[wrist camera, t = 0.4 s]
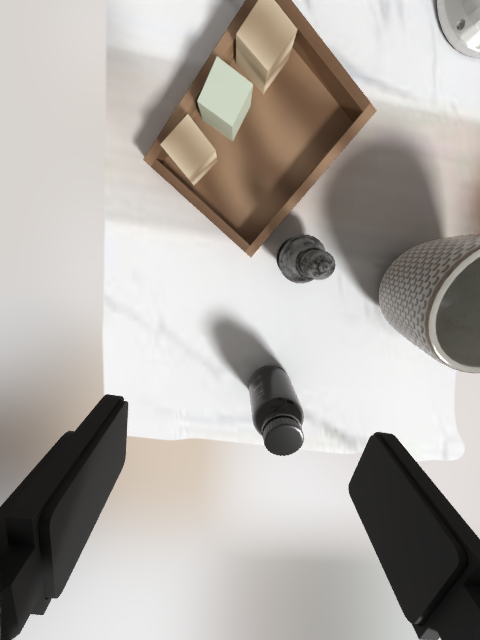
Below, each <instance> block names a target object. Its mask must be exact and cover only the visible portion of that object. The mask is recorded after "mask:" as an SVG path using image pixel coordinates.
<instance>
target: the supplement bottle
mask: <svg viewBox="0 0 480 640" xmlns="http://www.w3.org/2000/svg"><path fill="white" fill-rule="evenodd" d="M249 393H250V401H251V410H252V418H253V424H254V427H255V428H256V430H257V431H258V433H259V434H261V435H262V436H263V439H264V445H265V446H266V448H267V449H268V451H270V452H271V453H273V454H276V455H280V456H281V455H283V456H285V455H289V454H292V453H294V452H296V451H297V450H298V449H299V448H301V446H302V443H303V440H304V437H303V436H304V435H303V432H302V428H301V426H302V424H303V419H304V414H303V410H302V407H301V405H300V402H299V400H298V398H297V395H296V393H295V390H294V388H293V386H292V383H291V381H290V379H289V377H288V375H287V373H286V372H285V371H283V370H282V369H280V368H278V367H273V366H268V367H263V368H261V369H259V370H257V371H256V372H255V373H254V374H253V375H252V377H251V379H250V381H249Z"/></svg>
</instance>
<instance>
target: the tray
mask: <svg viewBox="0 0 480 640" xmlns="http://www.w3.org/2000/svg"><path fill="white" fill-rule="evenodd" d="M275 1H276V3H277V4H278V5H279V6H280V8H281V9H282V10H283V11H284V13H285V14H286V15H287V16H288V18H289V19H290V20H291V22H292V23H293V24H294V25H295V27H296V28H297V33H296V36H295V39H294V43H293V46H292V49H291V53H290V56H289V59H288V61H287V62H286V64H285V65H284V66H283V68H282V69H281V71H280V72H279V73H278V75H277V76H276V77H275V79H274V80H273V82H272V83H271V84H270V86H269V87H268V89H267V90H266V91H265V93H264V94H262V92H261V91H260V90H259V89H258V88H257V87H256V86H255V85H254V83H253V82H252V81H251V80H250V79H249V78H248V77H247V75H246V74H245V73H244V72H243V71H242V70H241V69H240V68H239V66H238V65H237V64H236V33H237V32H238V30H239V29H240V27H241V26H242V24H243V23H244V21H245V20H246V18H247V17H248V15H249V14H250V12H251V11H252V9H253V8H254V6H255V5H256V3H257V2H258V0H246V1H245V2H244V4H243V5H242V7H241V9H240V10H239V12H238V13H237V15H236V16H235V18H234V19H233V21H232V22H231V24H230V26H229V27H228V29H227V30H226V32H225V33H224V35H223V36H222V38H221V40H220V41H219V43H218V44H217V46H216V47H215V49H214V50H213V52H212V53H211V55H210V57H209V58H208V60H207V61H206V63H205V64H204V66H203V67H202V69H201V71H200V72H199V74H198V75H197V77H196V78H195V80H194V81H193V83H192V85H191V86H190V88H189V89H188V91H187V92H186V94H185V95H184V97H183V98H182V100H181V102H180V103H179V105H178V106H177V108H176V109H175V111H174V112H173V114H172V116H171V117H170V119H169V120H168V122H167V123H166V125H165V126H164V128H163V129H162V131H161V133H160V134H159V136H158V137H157V139H156V140H155V142H154V143H153V145H152V147H151V148H150V150H149V151H148V153H147V154H146V156H145V157H144V159H143V160H144V161H145V162H146V163H147V164H148V165H150V166H151V167H152V168H153V169H154V170H155V171H156V172H157V173H158V174H160V175H161V176H162V177H163V178H164V179H165V180H166V181H167V182H168V183H169V184H171V185H172V186H173V187H174V188H175V189H176V190H177V191H178V192H179V193H180V194H182V195H183V196H184V197H185V198H186V199H187V200H188V201H189V202H190V203H192V204H193V205H194V206H195V207H196V208H197V209H198V210H199V211H200V212H201V213H203V214H204V215H205V216H206V217H207V218H208V219H209V220H210V221H211V222H212V223H214V224H215V225H216V226H217V227H218V228H219V229H220V230H221V231H222V232H223V233H225V234H226V235H227V236H228V237H229V238H230V239H231V240H232V241H233V242H235V243H236V244H237V245H238V246H239V247H240V248H241V249H242V250H243V251H244V252H246V253H247V254H248V255H249V256H250V257H252V256H253V254H254V253H255V252H256V251H257V250H258V249H259V247H260V246H261V245H262V244H263V243H264V242H265V240H266V239H267V238H268V237H269V236H270V235H271V233H272V232H273V231H274V230H275V229H276V228H277V226H278V225H279V224H280V223H281V222H282V221H283V219H284V218H285V217H286V216H287V215H288V214H289V212H290V211H291V210H292V209H293V208H294V207H295V205H296V204H297V203H298V202H299V201H300V200H301V198H302V197H303V196H304V195H305V194H306V193H307V191H308V190H309V189H310V188H311V187H312V186H313V184H314V183H315V182H316V181H317V180H318V179H319V177H320V176H321V175H322V174H323V173H324V172H325V170H326V169H327V168H328V167H329V166H330V165H331V163H332V162H333V161H334V160H335V159H336V158H337V156H338V155H339V154H340V153H341V152H342V151H343V149H344V148H345V147H346V146H347V145H348V144H349V142H350V141H351V140H352V139H353V138H354V136H355V135H356V134H357V133H358V132H359V131H360V129H361V128H362V127H363V126H364V125H365V124H366V122H367V121H368V120H369V119H370V118H371V117H372V115H373V114H374V113H375V112H376V111H377V110H376V109H375V108H374V107H373V105H372V104H371V103H370V101H369V100H368V99H367V98H366V96H365V95H364V94H363V92H362V91H361V90H360V88H359V87H358V86H357V85H356V83H355V82H354V81H353V79H352V78H351V77H350V75H349V74H348V73H347V72H346V70H345V69H344V68H343V66H342V65H341V64H340V63H339V61H338V60H337V59H336V57H335V56H334V55H333V53H332V52H331V51H330V50H329V48H328V47H327V46H326V44H325V43H324V42H323V41H322V39H321V38H320V37H319V35H318V34H317V33H316V31H315V30H314V29H313V28H312V26H311V25H310V24H309V22H308V21H307V20H306V18H305V17H304V16H303V15H302V13H301V12H300V11H299V9H298V8H297V7H296V6H295V4H294V3H293V2H292V0H275ZM217 56H218V57H219V58H220V59H221V60H223V61H224V62H225V63H227V64H228V65H229V66H230V67H232V68H233V69H234V70H236V71H237V72H238V73H239V74H241V75H242V76H243V77H245V78H246V79H247V80H248V81H250V82H251V83H252V84H253V90H252V98H251V106H250V108H249V110H248V112H247V114H246V116H245V118H244V120H243V122H242V124H241V126H240V128H239V130H238V132H237V134H236V136H235V138H234V140H233V141H231V140H230V139H228V138H227V137H226V136H224V135H223V134H221V133H220V132H219V131H217V130H216V129H214V128H213V127H212V126H210V125H209V124H207V123H206V122H205V121H203V120H202V116H201V113H200V109H199V106H198V102H197V101H198V98H199V96H200V94H201V91H202V89H203V87H204V85H205V82H206V80H207V78H208V76H209V73H210V71H211V69H212V67H213V64H214V62H215V60H216V58H217ZM187 114H188V115H189V116H190V117H191V119H192V120H193V121H194V122H195V124H196V125H197V126H198V128H199V129H200V130H201V132H202V133H203V134H204V136H205V137H206V138H207V139H208V141H209V142H210V143H211V145H212V146H213V147H214V149H215V151H216V155H217V160H218V161H217V162H216V163H215V164H214V165H213V166H212V168H211V169H210V170H209V171H208V172H207V173H206V174H205V175H204V176H203V177H202V178H201V179H200V180H199V181H198V182H197V183H196V184H195V185H193V184H192V183H191V182H190V180H189V179H188V178H187V177H186V176H185V174H184V173H183V172H182V171H181V169H180V168H179V167H178V166H177V165H176V163H175V162H174V161H173V160H172V159H171V157H170V156H169V155H168V154H167V152H166V151H165V150H164V149H163V147H162V146H161V145H160V144H161V143H162V142H163V141H164V140H165V139H166V138H167V136H168V135H169V134H170V133H171V132H172V131H173V130H174V129H175V128H176V126H177V125H178V124H179V123H180V122H181V121H182V120H183V119H184V117H185V116H186V115H187Z"/></svg>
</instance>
